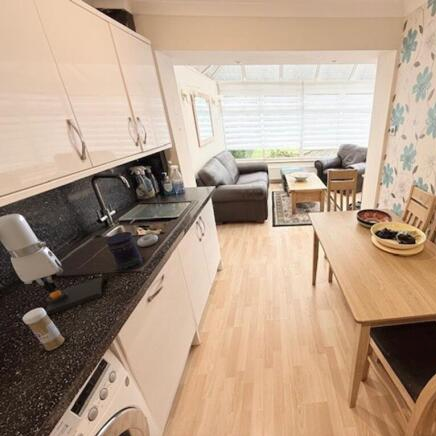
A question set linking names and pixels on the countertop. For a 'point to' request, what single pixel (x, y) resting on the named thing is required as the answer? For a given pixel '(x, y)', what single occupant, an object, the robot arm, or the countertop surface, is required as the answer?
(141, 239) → the donut
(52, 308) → the scale
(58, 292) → the tare button
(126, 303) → the countertop surface
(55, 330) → the sprinkles bottle
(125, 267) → the storage jar
